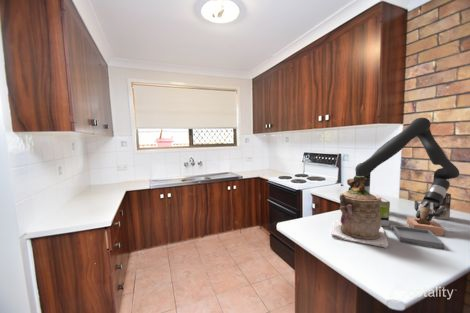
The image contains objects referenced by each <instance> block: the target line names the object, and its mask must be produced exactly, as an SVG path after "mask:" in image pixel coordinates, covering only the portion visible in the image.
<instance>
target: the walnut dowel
mask: <svg viewBox="0 0 470 313" xmlns="http://www.w3.org/2000/svg"><path fill="white" fill-rule="evenodd" d="M419 208H420V218H419V219H420V220H419V224H425V225H429V221H427V220H426V219H427V217H428V215H429V214H430V208H427V207H420V206H419Z"/></svg>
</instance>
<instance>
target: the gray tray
mask: <svg viewBox="0 0 470 313" xmlns="http://www.w3.org/2000/svg"><path fill="white" fill-rule="evenodd" d="M391 231H392V233H394V235H395V237H396V238H397V240H398V241H399V242H400V243H403V244H409V245H417V246H423V247H428V248H434V249H440V250H444V249H445V243H444V242H443V241H442V240H441V239H439V238H438V236H437V235H434V234H433V233H432V232H431V231H430V230H426V229H418V228H411V227H409V226H402V225H396V224H391Z"/></svg>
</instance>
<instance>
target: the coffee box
mask: <svg viewBox="0 0 470 313" xmlns="http://www.w3.org/2000/svg"><path fill="white" fill-rule="evenodd" d="M451 198H452V194H451V193H450V192H446V195H445V198H444V199H443V201H442V203H441V206H442V207H443V206H444V207H445V208H446V211H445V212H444V213H443V214H441V215H440V216H439V217H437V216H434V217H433V218H432V219H436V220H437V219H440V220H444V219H445V220H449V219H450V218H451V216H450V215H451V203H452V201H451V200H452V199H451ZM438 210H439V208H438V209H436V210H435V212H436V211H438Z"/></svg>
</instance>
